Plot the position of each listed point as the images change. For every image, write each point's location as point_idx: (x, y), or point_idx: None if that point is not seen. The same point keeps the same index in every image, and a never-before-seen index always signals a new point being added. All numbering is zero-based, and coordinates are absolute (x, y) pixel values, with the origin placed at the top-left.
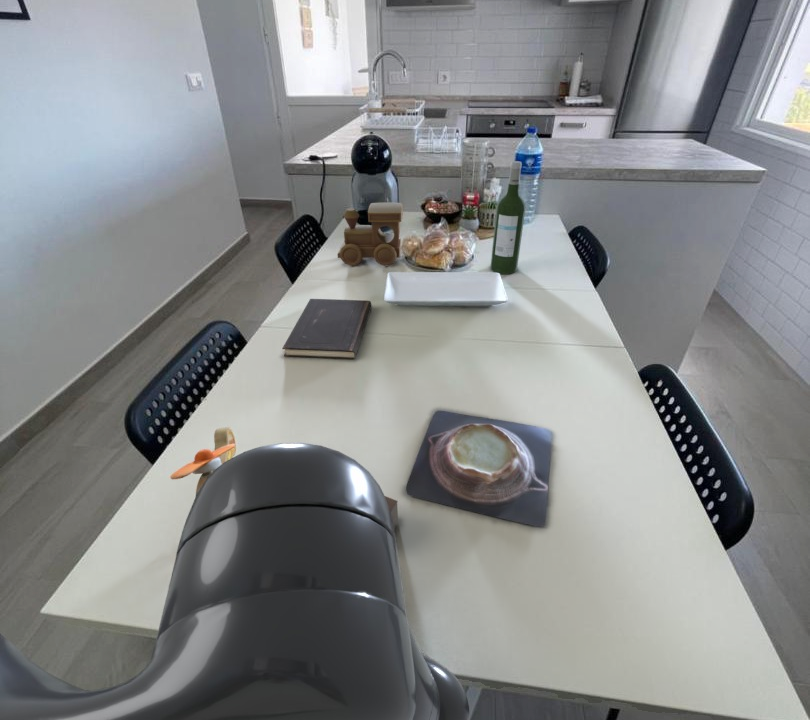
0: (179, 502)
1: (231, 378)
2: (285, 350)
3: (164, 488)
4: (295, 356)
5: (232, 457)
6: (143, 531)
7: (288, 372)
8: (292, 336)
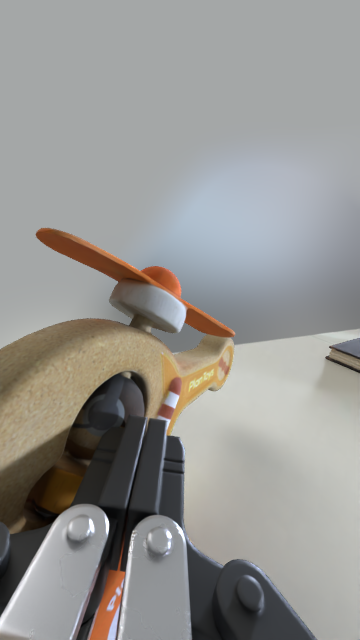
0: None
1: (255, 344)
2: (331, 351)
3: None
4: (341, 364)
5: (209, 386)
6: None
7: (328, 371)
8: (345, 344)
